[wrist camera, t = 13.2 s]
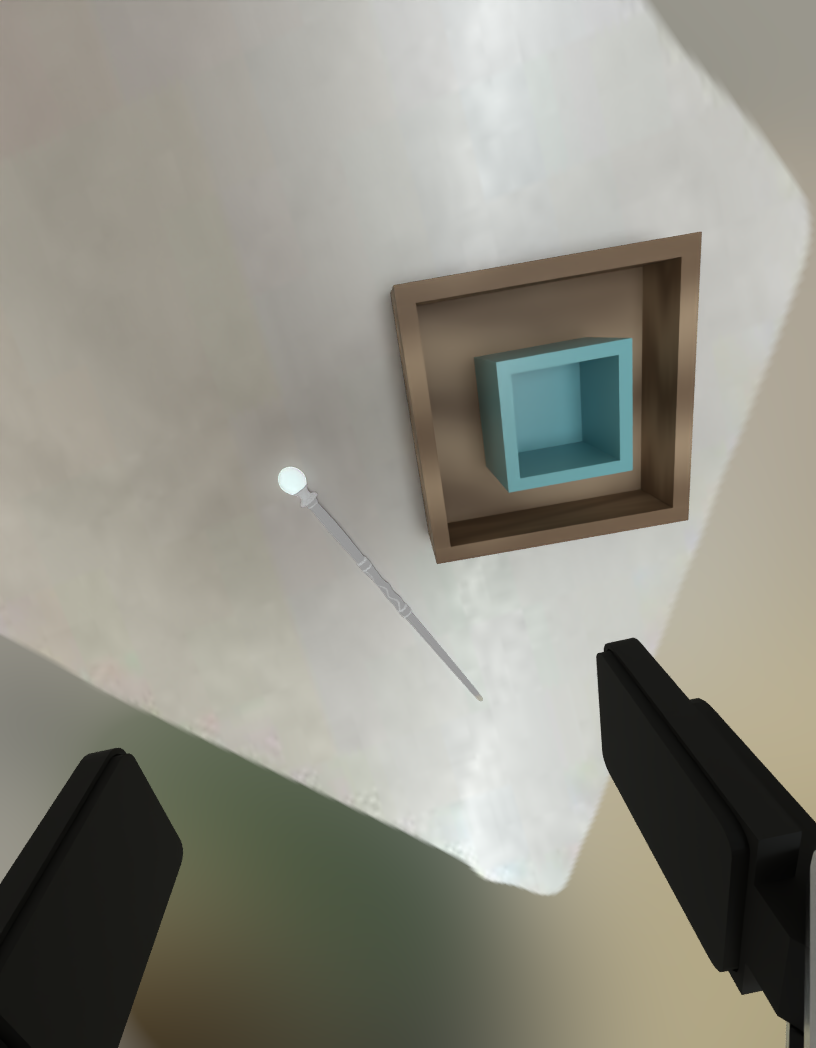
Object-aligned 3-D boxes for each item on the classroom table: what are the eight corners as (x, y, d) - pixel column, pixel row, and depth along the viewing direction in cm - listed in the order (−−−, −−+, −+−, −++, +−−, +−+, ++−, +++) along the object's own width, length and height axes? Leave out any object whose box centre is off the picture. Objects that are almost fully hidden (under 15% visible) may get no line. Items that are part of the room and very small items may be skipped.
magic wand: (476, 691, 43) (470, 709, 42) (282, 466, 34) (267, 481, 33) (493, 690, 42) (487, 708, 41) (297, 457, 33) (282, 472, 32)
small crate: (473, 357, 31) (496, 362, 25) (585, 337, 31) (632, 338, 25) (486, 465, 33) (508, 492, 28) (589, 447, 33) (632, 470, 28)
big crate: (390, 292, 30) (393, 285, 25) (650, 247, 30) (701, 231, 25) (428, 534, 36) (437, 564, 31) (647, 495, 36) (688, 519, 31)
